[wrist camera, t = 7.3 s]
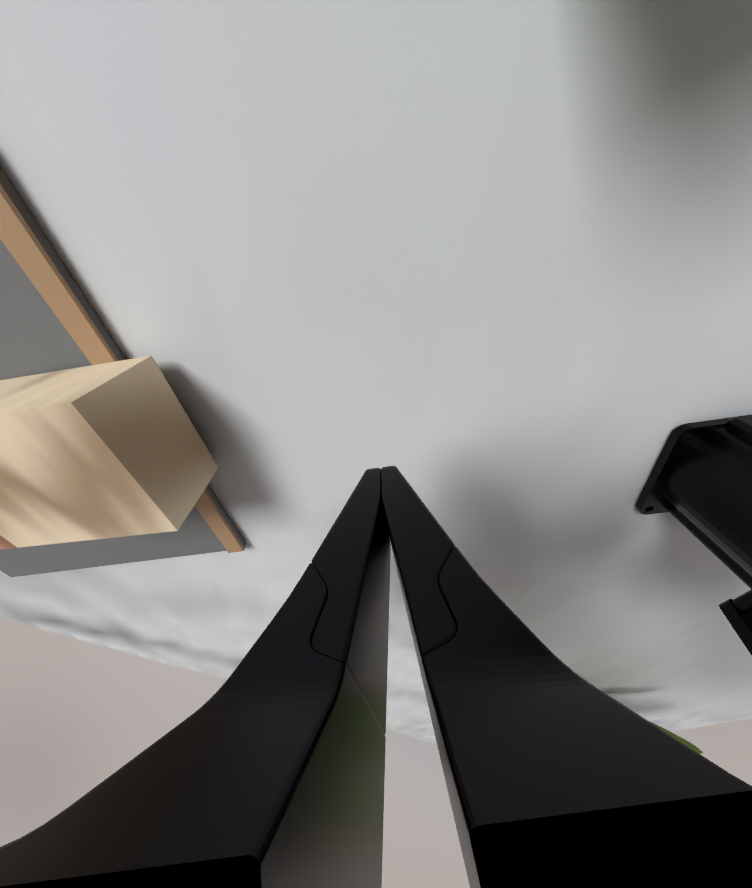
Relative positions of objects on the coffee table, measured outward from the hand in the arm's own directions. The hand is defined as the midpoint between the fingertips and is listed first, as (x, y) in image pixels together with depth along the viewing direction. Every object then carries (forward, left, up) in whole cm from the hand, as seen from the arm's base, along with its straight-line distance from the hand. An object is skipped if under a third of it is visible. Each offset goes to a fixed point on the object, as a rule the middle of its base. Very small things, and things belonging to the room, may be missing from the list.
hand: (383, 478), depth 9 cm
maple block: (0, +9, -4) cm, 10 cm away
